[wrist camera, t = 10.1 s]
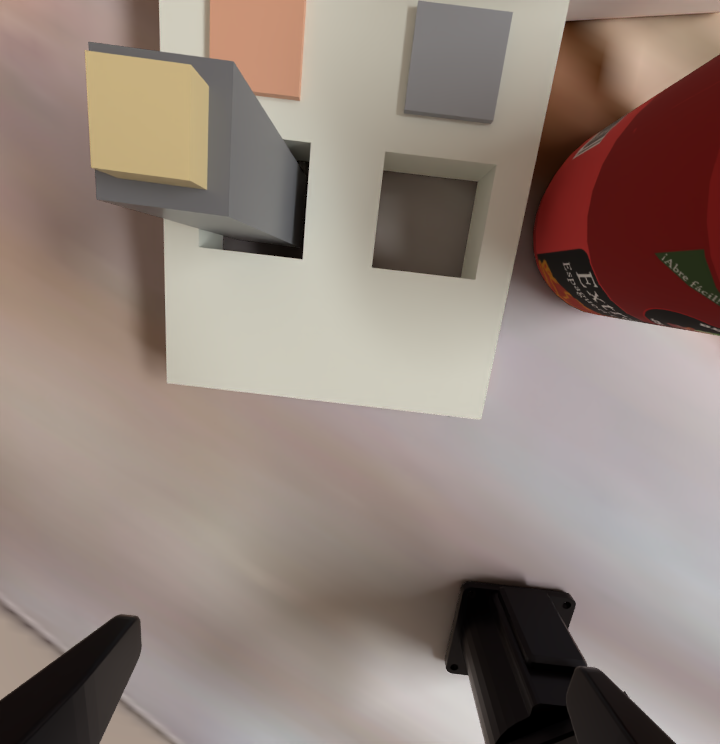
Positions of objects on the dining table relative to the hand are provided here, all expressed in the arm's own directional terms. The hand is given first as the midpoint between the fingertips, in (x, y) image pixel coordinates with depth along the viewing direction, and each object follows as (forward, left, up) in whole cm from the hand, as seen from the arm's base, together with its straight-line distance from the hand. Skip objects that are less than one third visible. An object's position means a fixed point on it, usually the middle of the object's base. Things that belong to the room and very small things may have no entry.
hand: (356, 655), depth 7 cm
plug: (+10, +5, -12) cm, 17 cm away
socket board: (+10, +2, -12) cm, 16 cm away
